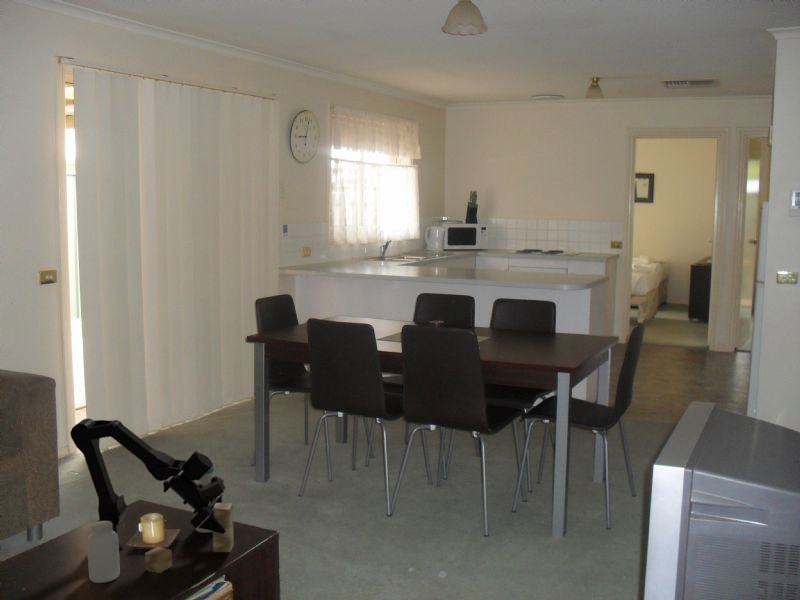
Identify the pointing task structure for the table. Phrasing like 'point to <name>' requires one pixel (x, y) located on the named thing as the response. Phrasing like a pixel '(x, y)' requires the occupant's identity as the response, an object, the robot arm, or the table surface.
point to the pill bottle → (103, 553)
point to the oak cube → (158, 559)
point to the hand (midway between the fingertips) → (227, 526)
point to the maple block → (225, 518)
